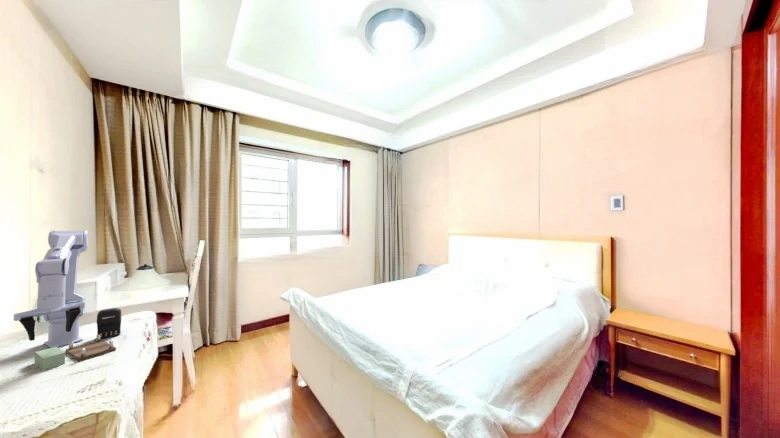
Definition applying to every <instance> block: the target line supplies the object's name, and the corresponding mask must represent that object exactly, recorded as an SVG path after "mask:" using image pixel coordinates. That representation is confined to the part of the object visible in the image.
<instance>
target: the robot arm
mask: <svg viewBox="0 0 780 438" xmlns="http://www.w3.org/2000/svg"><path fill="white" fill-rule="evenodd" d="M47 236H48V237H47V242H48V246H49V247H50V248H49V249H48V250H47V251H46V254H45V255H44V257H43V258H42V259H41V260H40V261H37V262H36V264H35V268H34V273H35V276H36V277H35V278H36V283H38V285H37V309H35V308H34V309H31V310H27V311H23V312H17V313H13V321H15V322H19V323H20V325H22V326H23V328H24V329H25V331H26V333H27V336H28V340H29V341H30V342H31V341H35V340H36V339H35V338H36V335H35V327H36V322H37V321H36V319H35V317H42V316H43V320H44V321H45V322H48V324H49V325H48V333H47V335H48V336H47V340H45V341H44V342H43V344H44V345H46V346H47V347H49V348H53V347H57V348H60V347H63V346H66V345H69V342H73V344H74V343H78V342H82V341H83V340H84V338H82V337H80V318H81V317H83V316H84V315H85V314H86V313H85V312H86V301H85V300H86V298H85V297H84V296H83V295H82V294H79V293H76V288H77V278H78V276H77V275H78V268H79V266H78V265H79V258H80V256H81V253H83V252H86V251H87V250H88V246H89V231H88V230H85V229H84V230H50V232H48V235H47Z"/></svg>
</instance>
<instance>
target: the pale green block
mask: <svg viewBox="0 0 780 438" xmlns="http://www.w3.org/2000/svg"><path fill="white" fill-rule="evenodd" d="M65 362H66V351H64V350H62V349H60V347H53V348H50V347H49V348H45V349H42V350H41V349H40V350H38V351H34V365H36V366H37V367H38V368H40V369H41V370H42V371H45V370H49V369H51V368H56V367H59V366H62V365H65Z"/></svg>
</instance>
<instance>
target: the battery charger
mask: <svg viewBox="0 0 780 438" xmlns="http://www.w3.org/2000/svg"><path fill="white" fill-rule="evenodd" d="M122 312H123V311H122V308H120V307H112V308H104V309H101V310H99V311H98V313H97V314H96V315H97V316H96V329H97V332H96V333H97V334H96V336H97V335H99V334H100V340H102V339H108V338H112V337H117V336H119V335H120V334H121V332H122V331H121V330H122V329H121V327H122V319H123V318H122V317H123V316H122V315H123V314H122Z"/></svg>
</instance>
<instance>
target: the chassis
mask: <svg viewBox="0 0 780 438" xmlns="http://www.w3.org/2000/svg"><path fill="white" fill-rule="evenodd" d="M116 350H117V347H116V346H114V340H109V342H106V341H104V340H102V339H100V334H99V335H97V334H96V340H95V341H91V342H89V343H85V344H81V345H78V346H75V347H74V343H73V342H69V344H68V348H67V349H65V354H68V356H71V357H72V358H73V359H75V360H77V361H78V362H82V361H86V360H88V359H91V358H95V357H98V356H102V355H104V354H107V353H111V352H115V351H116Z"/></svg>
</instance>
